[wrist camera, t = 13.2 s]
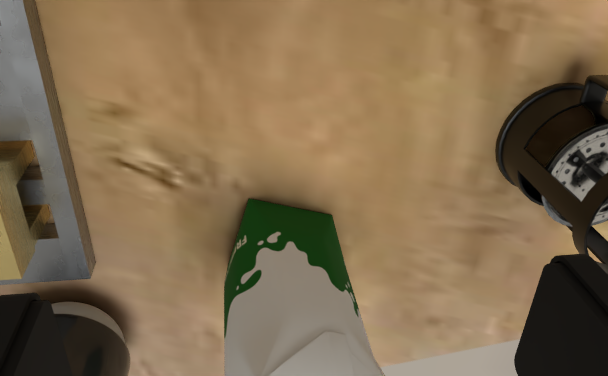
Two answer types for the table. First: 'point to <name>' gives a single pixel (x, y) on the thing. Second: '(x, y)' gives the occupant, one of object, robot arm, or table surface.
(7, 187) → the tan wooden block
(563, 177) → the french press
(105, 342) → the pump dispenser
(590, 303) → the robot arm
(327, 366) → the milk carton
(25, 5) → the grey flat board
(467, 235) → the table surface
